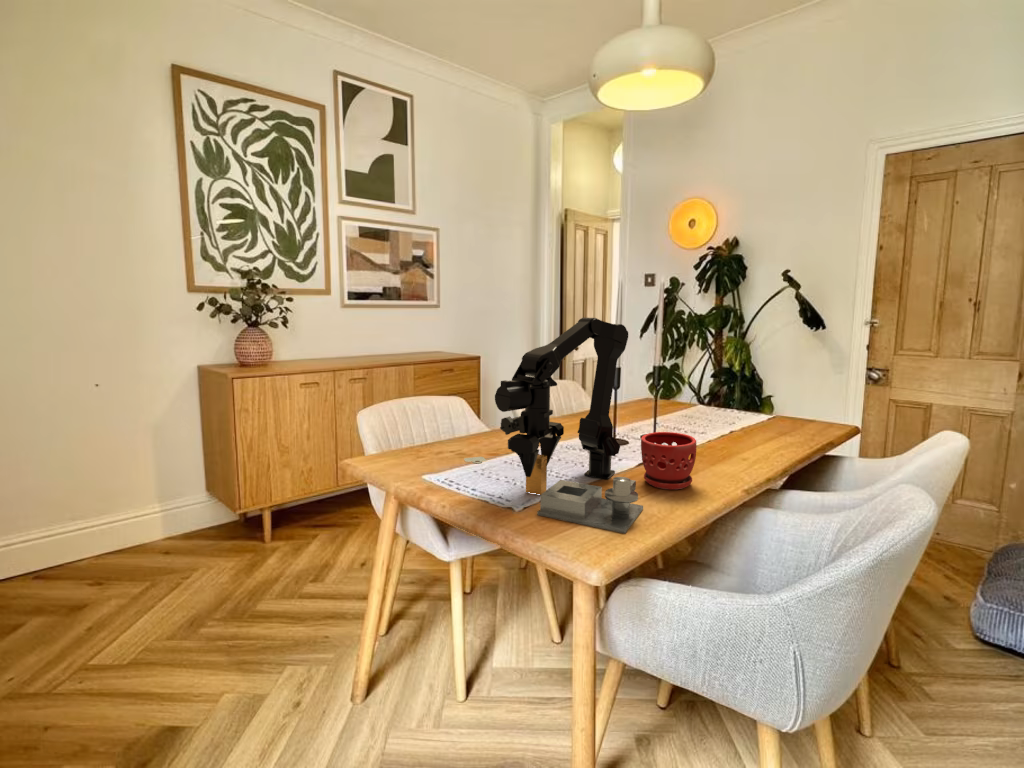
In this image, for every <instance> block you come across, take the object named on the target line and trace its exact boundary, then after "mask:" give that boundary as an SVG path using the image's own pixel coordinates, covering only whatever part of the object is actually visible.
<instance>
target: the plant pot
mask: <svg viewBox="0 0 1024 768" xmlns="http://www.w3.org/2000/svg"><path fill="white" fill-rule="evenodd" d="M673 443H675V444H676V445H673ZM640 452H641V460H642V465H643V467H644V470H645V472H644V473H643V478H644V480H645V482H646V483H647V484H649V485H651V486H652V487H655V488H657V489H662V490H677V491H678V490H679V491H680V490H682V489H684V488H687V487H688V486H690V485H691V483H692V482H693V477H692V476H691V473H692V472H693V469H694V466H695V463H696V456H697V439H696V438H695V437H693V436H691V435H689V434H685V433H680V432H675V431H674V432H672V431H657V432H655V431H654V432H649V433H646V434H644V435H642V436H641V438H640Z"/></svg>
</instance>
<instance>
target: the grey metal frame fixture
mask: <svg viewBox="0 0 1024 768" xmlns="http://www.w3.org/2000/svg"><path fill="white" fill-rule="evenodd" d="M636 487H637V480H635V479H634V480H633V479H631V478H628V477H625V476H615V477H613V478H612V487H611V488H608V489H606V490H605V491H604V498H603V497H602V496H603V493H602V491H603V487H602V486H598V485H592V484H588V483H582V482H576V481H575V482H574V481H570V480H563V479H560V480H558V481H557V482H555V484H553V485H552V486H551V487H549V488H548V489H546V491H545V492H544V493H542V494H541V496H540V504H539V505H540V509H538V511H537V512H536V513H537V516H541V517H545V518H546V517H547V518H550V519H554V520H560V521H563V522H567V523H574V524H578V525H582V526H587V527H592V528H596V529H602V530H605V531H611V532H614V533H621V534H626V533H628V531H629V529H630V528H631V527H632V525H633V524H634V522H635V521H636V519H637V518H638V517H639V515H640V514H641V513H642V511H644V505H641V504H635V502H637V501H638V499H639V493H638V492H637V491H636V489H637V488H636Z"/></svg>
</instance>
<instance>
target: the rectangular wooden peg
mask: <svg viewBox="0 0 1024 768" xmlns="http://www.w3.org/2000/svg"><path fill="white" fill-rule="evenodd" d="M547 467H548V465H547V456H546V455H541V453H538V456H537V459H536V462H535V465H534V468H533V471H532V474H531V477H526V476H525V493H526V492H530V493H536V494H540V495H541V494H542V493H544V492H545V491H546V490H547V479H548V478H547V476H548V474H547V473H548V471H547V470H548V468H547Z"/></svg>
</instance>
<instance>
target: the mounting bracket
mask: <svg viewBox="0 0 1024 768" xmlns="http://www.w3.org/2000/svg"><path fill="white" fill-rule="evenodd" d="M463 460H464V462H465V463H469V462H470V463H471V462H472V464H477V465H480V464H482V463H483V462H484V461H485V462H486V461H487V459H486V458H485V457H484V456H473V457H465V458H463Z"/></svg>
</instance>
